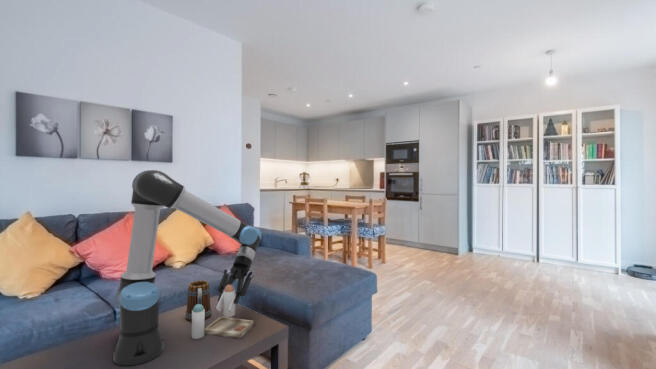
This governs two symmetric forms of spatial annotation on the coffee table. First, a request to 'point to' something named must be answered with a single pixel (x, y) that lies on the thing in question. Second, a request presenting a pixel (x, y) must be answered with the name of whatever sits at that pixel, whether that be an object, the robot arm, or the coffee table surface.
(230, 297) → the tube terracotta
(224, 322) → the tray
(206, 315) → the mug
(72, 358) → the coffee table surface
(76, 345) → the coffee table surface
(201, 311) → the tube teal
